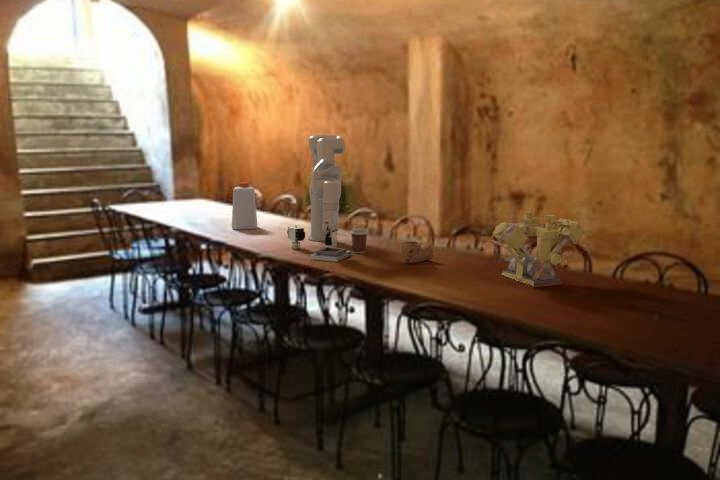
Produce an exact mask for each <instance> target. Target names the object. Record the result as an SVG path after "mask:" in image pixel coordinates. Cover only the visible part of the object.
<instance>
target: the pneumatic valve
mask: <svg viewBox="0 0 720 480" xmlns="http://www.w3.org/2000/svg"><path fill="white" fill-rule="evenodd" d="M286 233H287V238H288V240H291V248H292V249H295V250H296V249H301V241H304V240H305V239H306V231H305V228H303V227H302V226H298V225H297V224H295V225H292V226H291V225H289V226H287V231H286Z"/></svg>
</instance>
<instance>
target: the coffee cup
mask: <svg viewBox="0 0 720 480" xmlns="http://www.w3.org/2000/svg"><path fill="white" fill-rule="evenodd" d="M349 233H350V234H351V242H352V243H351V245H352V253H354V254H365V253H366V246H367V239H368V238H367V236H368V234H369V231H368V230H367V228H365V227H352V230H351V231H349Z"/></svg>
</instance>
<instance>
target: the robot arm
mask: <svg viewBox="0 0 720 480" xmlns="http://www.w3.org/2000/svg"><path fill="white" fill-rule="evenodd" d="M308 147H309V149H310V152H311V154H312V163H311V164H312V167H311V168H312V169H311V174H310V186H309V189H308V190H309V191H308V192H309V198H310V199H309V200H310V236H308V237H307V238H308V239H307V240H309V241H313V242H324V245H329V246H331V245H332V237H331V233H332V231H334V230H335V231H337V232H338V231H339V230H338V229H339V226H340V225H339V224H340V221H339V220H340V218H339V211H340V198H341V194H342V178H343V177H342V166H341V165H340V164H338V163H336V158H335V155H343V154H345V152H346V143H345V140H344V138H343V137H342V136H341V135H336V134H335V135H333V134H332V135H330V134H329V135H327V134H314V135H311V136H309V138H308ZM328 230H330V231H328ZM329 232H330V233H329Z"/></svg>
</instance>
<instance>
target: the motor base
mask: <svg viewBox="0 0 720 480" xmlns="http://www.w3.org/2000/svg"><path fill="white" fill-rule="evenodd" d="M350 256H352V250H347V248H339V247H326V246H325V247H322V248H319V249H318V250H315V252H314V253H312V254H310V255H309V260H310V261H311V260H313V261H324V262H334V263H337V262H340V261H342V260H344V259H346V258H348V257H350Z"/></svg>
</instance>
